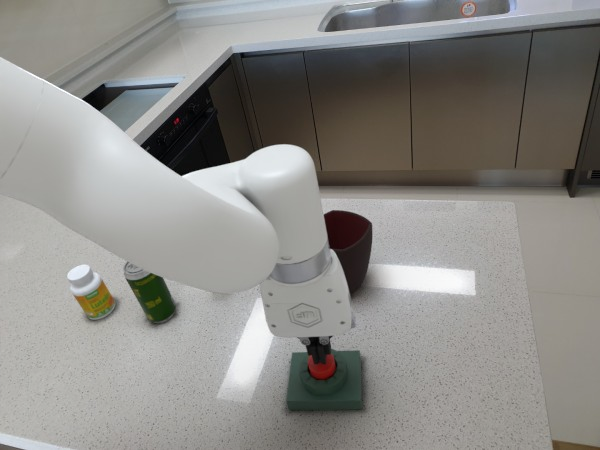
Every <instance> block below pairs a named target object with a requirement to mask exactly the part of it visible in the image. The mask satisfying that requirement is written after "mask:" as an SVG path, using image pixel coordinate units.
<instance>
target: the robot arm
mask: <svg viewBox="0 0 600 450" xmlns="http://www.w3.org/2000/svg"><path fill="white" fill-rule="evenodd" d="M0 195H2V196H5V197H8V198H10V199H13V200H16V201H18V202H22V203H24V204H26V205H29V206H31V207H34V208H35V209H39V210H40V211H42V212H43V213H45V214H47V215H48V216H50V217H51V218H53V219H54V220H56V221H57V222H58V223H60V224H62V225H63V227H64V226H65V227H66V228H68V229H69V230H71V231H73V232H74V233H76V234H78V235H80V236H81V237H83V238H85V239H87V240H89V241H91V242H92V243H94V244H96V245H97V246H100V247H101V248H103V249H104V250H106V251H108V252H109V253H112V254H113V255H115V256H117V257H118V258H120V259H122V260H124V261H125V262H129V263H131V264H133V265H135V266H137V267H139V268H141V269H143V270H146V271H148V272H150V273H153V274H155V275H158V276H160V277H163V279H166V280H169V281H171V282H176V283H179V284H182V285H184V286H188V287H192V288H195V289H198V290H202V291H205V292H211V293H216V294H228V295H229V294H230V295H231V294H238V293H242V292H247V291H249V290H252V289H254V288H256V287H258V286H259V289H260V296H261V302H262V307H263V311H264V317H265V322H266V325H267V328H268V330H269V332H270V334H271V335H273V336H275V337H277V338H278V337H279V338H287V339H289V338H296V339H298V340H299V342H300V344H302V346H305V349H306V352H307V353H308V355H312V358H313V362H314V365H318V363H322V364H326V359H327V355H331V349H332V343H331V339H332V338H333V337H334V336H342V335H345V334H347V333H349V332H351V329H354V328H356V327H357V326H356V325H357V324H356V323H357V322H356V321H357V319H356V316H355V314H354V312H353V310H352V307H351V306H352V299H351V295H350V293H349V289H348V285H347V281H346V278H345V275H344V272H343V269H342V266H341V264H340V261H339V259H338V257H337V255H336V253H335V252H334V251H333V250H332V249H330V247H329V242H328V236H327V231H326V225H325V220H324V214H325V213H324V210H323V204H322V198H321V193H320V188H319V181H318V176H317V170H316V166H315V163H314V160H313V158H312V156H311V154H310V153H309V152H308V151H307V150H305V148H303V147H300V146H297V145H294V144H286V143H283V144H274V145H269V146H266V147H263V148H260V149H257V150H256V151H253V152H252V153H251V154H250V155H248V156H246V158H243V159H240V160H236V161H234V162H230V163H225V164H221V165H217V166H212V167H206V168H202V169H199V170H195V171H191V172H189V173H186V174H183V175H180V174H179V173H177V172H175V171H174V170H172V169H171V168H169V167H168V166H166V165H165V164H164V163H162V162H161V161H160V160H158V159H157V158H156V157H154V156H153V155H152V154H150V153H149V152H148V151H147V150H145V149H144V148H143V147H141V145H139V144H138V143H137V142H136V141H135V140H134V139H132V138H131V136H129V135H128V134H127V133H126V132H125V131H124V130H123V129H122V128H120V126H118V125H117V124H116V123H115V122H114V121H112V120H111V119H110V118H109V117H107V115H105V114H103V113H102V112H100V110H98V109H96V108H95V107H93V106H92V105H91V104H90V103H88V102H86V101H85V100H83V99H81V98H79V97H77V96H75V95H73V94H71V93H69V92H68V91H66V90H64V89H62V88H60V87H58V86H57V85H54V84H53V83H50V82H48V81H47V80H45V79H43V78H42V77H41V78H40V77H39V76H37V75H35V74H33V73H31V72H30V71H27V70H26V69H24V68H22V67H20V66H18V65H16V64H14V63H13V62H11V61H9V60H8V59H5V58H3V57H2V56H0Z"/></svg>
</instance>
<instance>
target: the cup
mask: <svg viewBox="0 0 600 450" xmlns="http://www.w3.org/2000/svg"><path fill="white" fill-rule="evenodd" d="M323 214H324V220H325V225H326V231H327V236H328V242H329V247H330V249H332V250H333V251H334V252H335V253H336V255H337V257H338V259H339V261H340V264H341V266H342V269H343V272H344V275H345V278H346V281H347V285H348V289H349V293H350V296H351V295H352V294H354V293H356V292H358V290H359V289H360V288H361V287H362V286H363V284H364V283H365V279H366V277H367V273H368V270H369V265H370V260H371V254H372V247H373V235H374V233H373V222H372V221H371V220H370V219H368V218H367V217H365V216H363V215H361V214H359V213H356V212H353V211H349V210H340V209H332V210H330V211H328V212H325V213H323Z"/></svg>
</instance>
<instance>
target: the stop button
mask: <svg viewBox="0 0 600 450" xmlns="http://www.w3.org/2000/svg"><path fill="white" fill-rule="evenodd" d="M308 366H309V370H310V373H311V375H312V376H313V377H314V378H316V379H320V380H324V379H327V378H329V377H331V376H332V375H333V374H334V372H335V369H336V366H335V361H334V357H333V355H332V354H331V355H327V359H326V364H322V363H318V365H314V362H313V358H312V355H310V357H309V359H308Z"/></svg>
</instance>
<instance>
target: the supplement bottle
mask: <svg viewBox="0 0 600 450" xmlns="http://www.w3.org/2000/svg"><path fill="white" fill-rule="evenodd" d="M66 277H67V280H68V281H69V283H70V287H69V289H70V292H71V294H72V296H73V297H74V299H75V300H76V302H77V303H78V305H79V306H80V308H81V309H82V311H83V312H84V314H85V316H86V317H87V318H88V319H90V320H92V321H93V320H101V319H104V318H106V317H107V316H109V315H110V314H111V313H113V311H114V309H116V308H115V307H116V301H115V299H114V297H113V295H112V293H111V292H110V290H109V289H108V287H107V285H106V283H105V281H104V280H103V278H102V276H101V275H100V274H99V273H98V272H95V271H93V269H92V268H91V267H90V265H88V264H80V265H77V266H74V267H73V268H72V269H71V270H69V272H68V273H67V276H66Z"/></svg>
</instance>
